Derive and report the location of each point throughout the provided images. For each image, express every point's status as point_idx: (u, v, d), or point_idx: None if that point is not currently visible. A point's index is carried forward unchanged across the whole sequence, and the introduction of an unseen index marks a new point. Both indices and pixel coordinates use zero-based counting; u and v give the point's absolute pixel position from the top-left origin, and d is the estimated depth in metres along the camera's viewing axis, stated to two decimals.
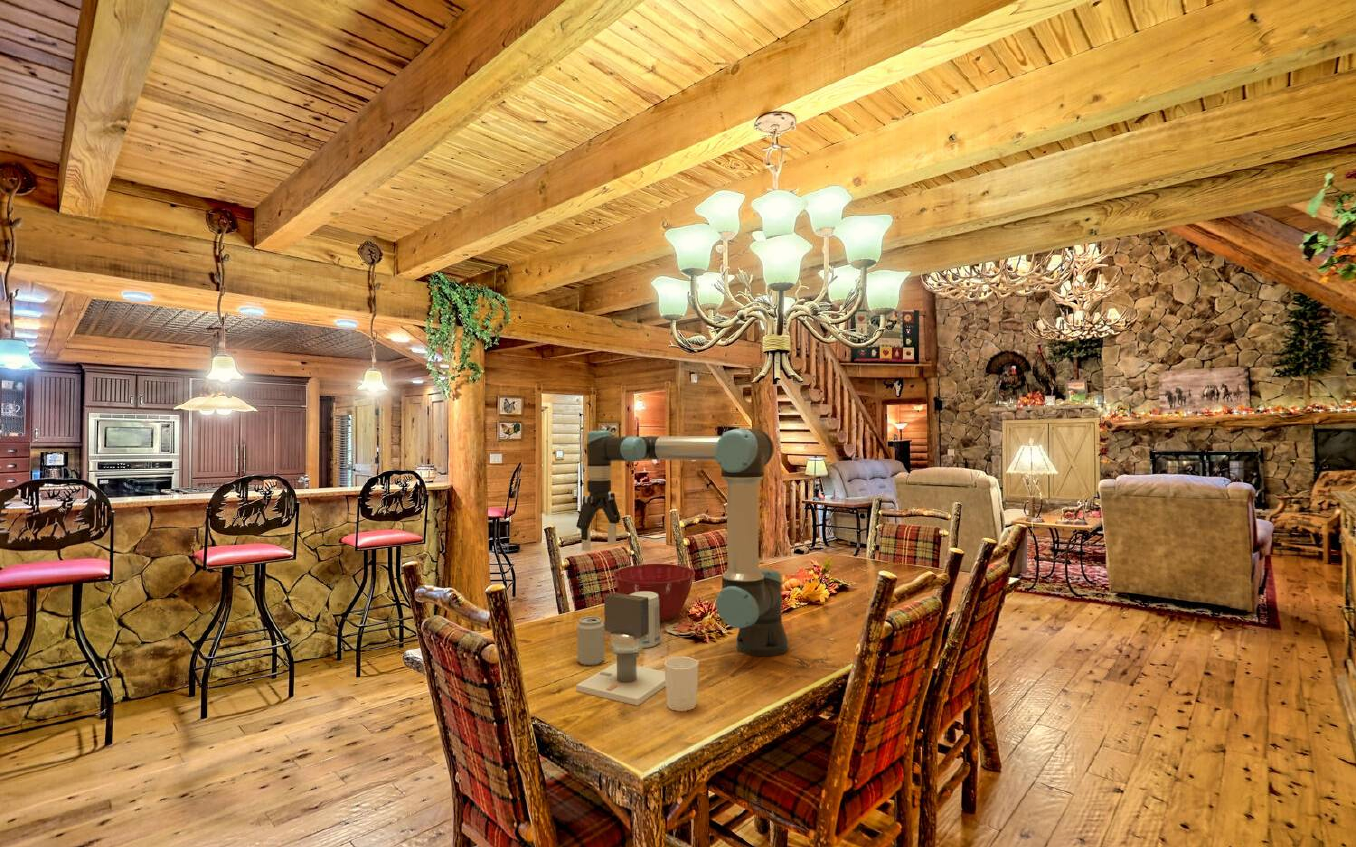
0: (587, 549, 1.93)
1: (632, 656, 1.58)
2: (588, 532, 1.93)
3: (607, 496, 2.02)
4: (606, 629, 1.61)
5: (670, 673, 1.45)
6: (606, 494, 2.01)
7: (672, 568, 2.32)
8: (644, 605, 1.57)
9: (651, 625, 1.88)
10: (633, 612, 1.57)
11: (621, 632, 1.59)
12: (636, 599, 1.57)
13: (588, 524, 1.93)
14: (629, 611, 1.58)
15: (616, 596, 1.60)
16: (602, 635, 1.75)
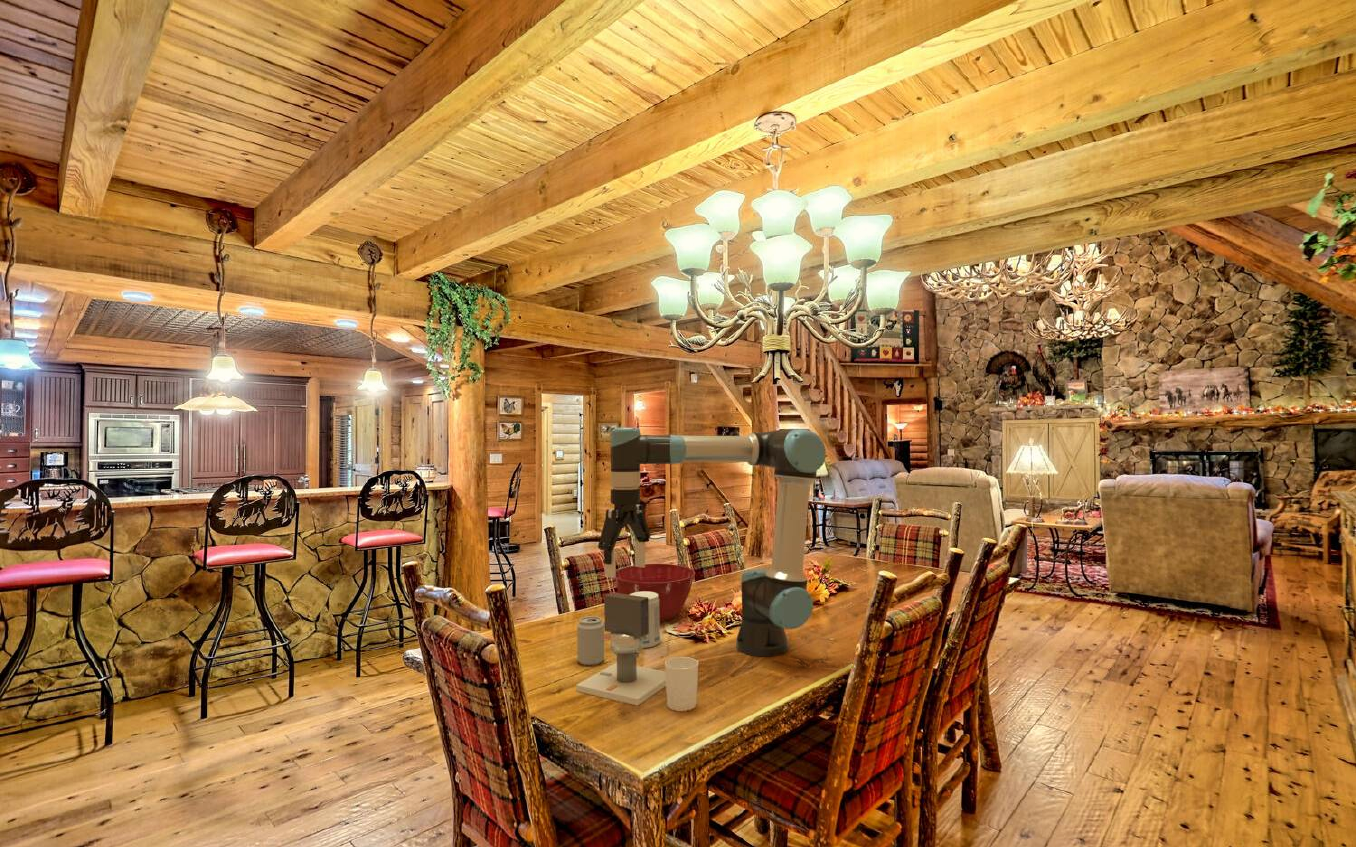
0: (611, 576, 1.54)
1: (632, 656, 1.58)
2: (613, 554, 1.54)
3: (635, 509, 1.63)
4: (606, 629, 1.61)
5: (670, 673, 1.45)
6: (634, 506, 1.62)
7: (672, 568, 2.32)
8: (644, 605, 1.57)
9: (651, 625, 1.88)
10: (633, 612, 1.57)
11: (621, 632, 1.59)
12: (636, 599, 1.57)
13: (613, 544, 1.54)
14: (629, 611, 1.58)
15: (616, 596, 1.60)
16: (602, 635, 1.75)
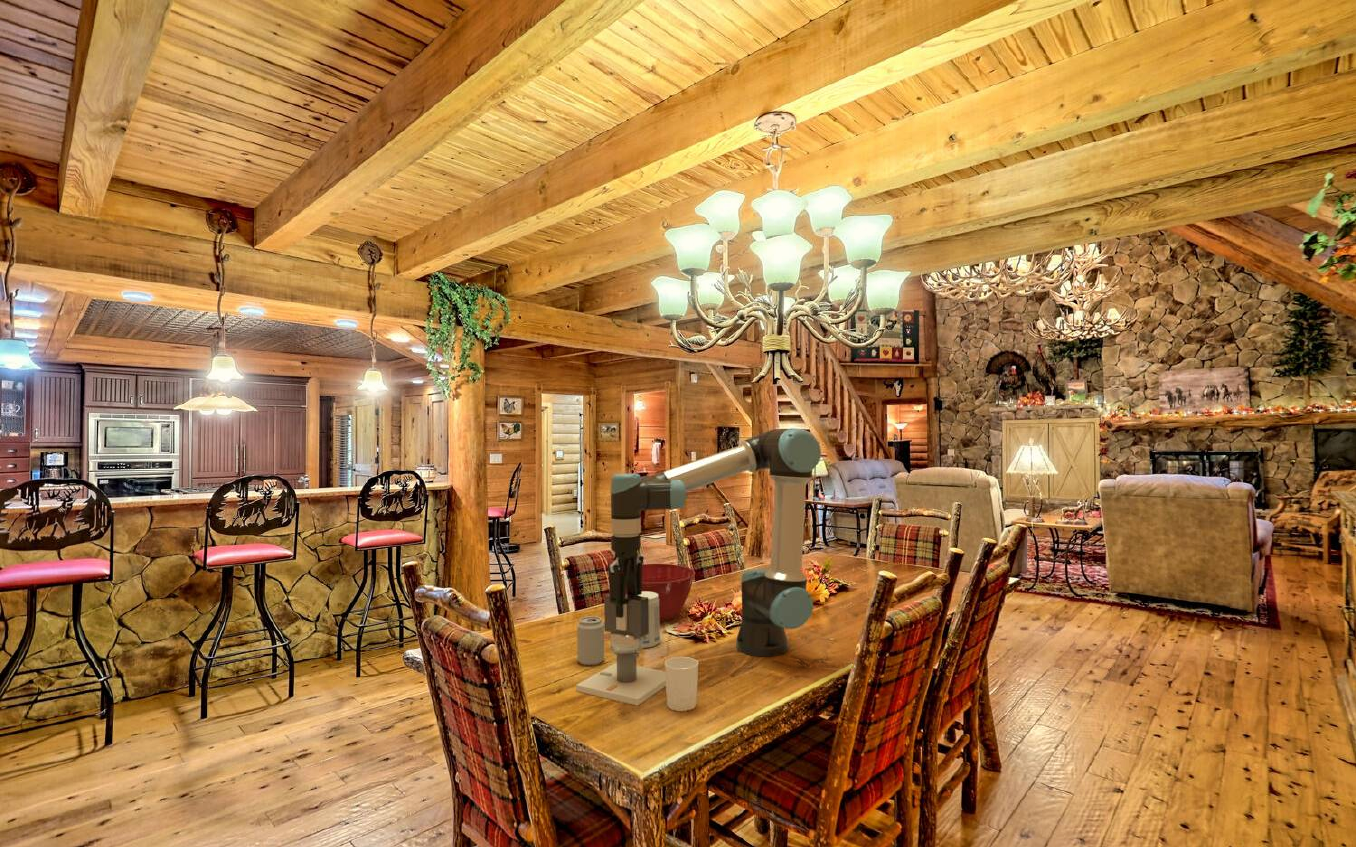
0: (623, 629, 1.57)
1: (632, 656, 1.58)
2: (624, 608, 1.57)
3: (636, 554, 1.62)
4: (606, 629, 1.61)
5: (670, 673, 1.45)
6: (635, 551, 1.62)
7: (672, 568, 2.32)
8: (644, 605, 1.57)
9: (651, 625, 1.88)
10: (633, 612, 1.57)
11: (621, 632, 1.59)
12: (636, 599, 1.57)
13: (623, 598, 1.57)
14: (629, 611, 1.58)
15: None
16: (602, 635, 1.75)
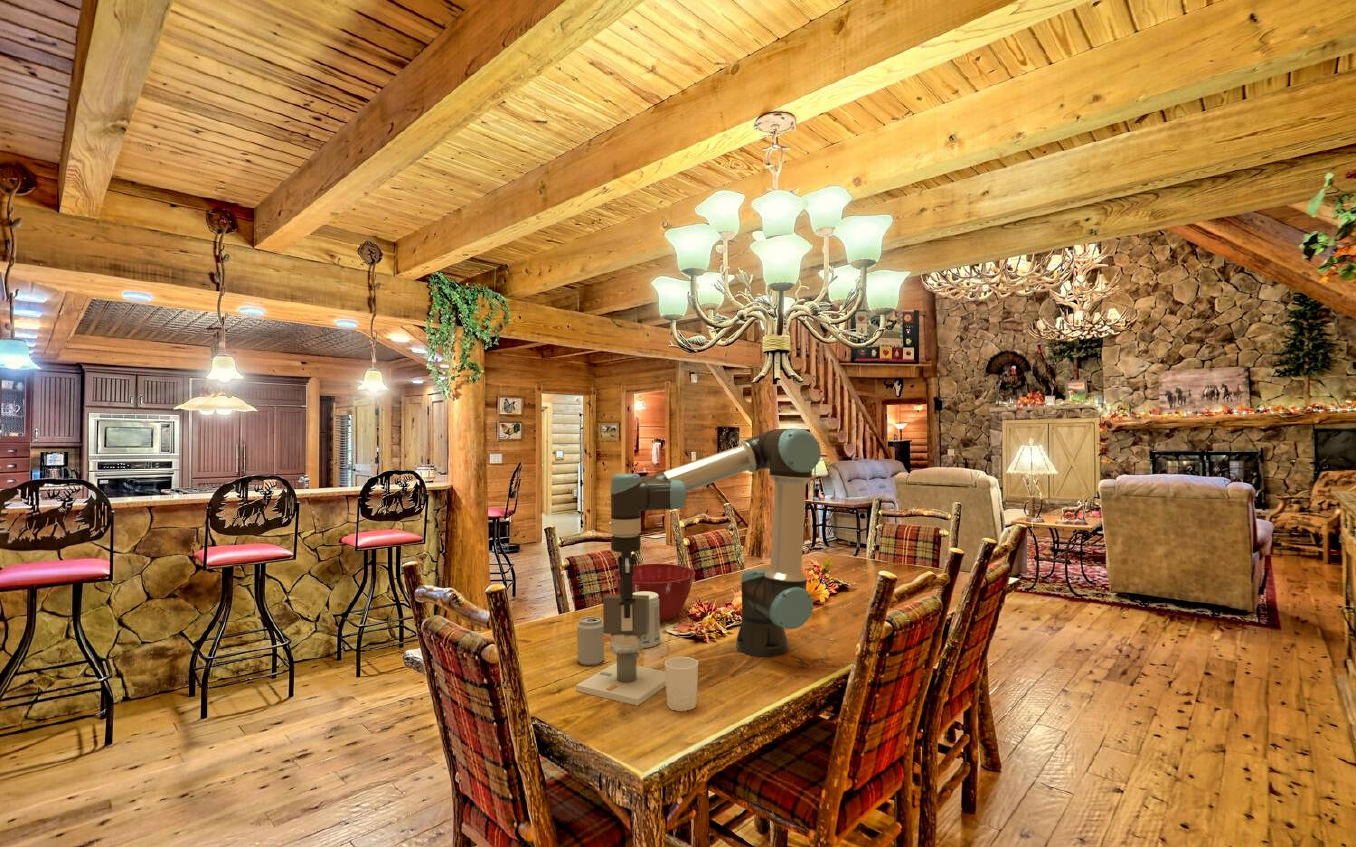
0: (629, 629, 1.57)
1: (632, 656, 1.58)
2: (631, 608, 1.57)
3: None
4: (605, 631, 1.59)
5: (670, 673, 1.45)
6: None
7: (672, 568, 2.32)
8: (647, 603, 1.59)
9: (651, 625, 1.88)
10: (637, 611, 1.58)
11: (623, 632, 1.58)
12: (639, 598, 1.58)
13: None
14: (632, 610, 1.58)
15: (616, 597, 1.59)
16: (602, 635, 1.75)
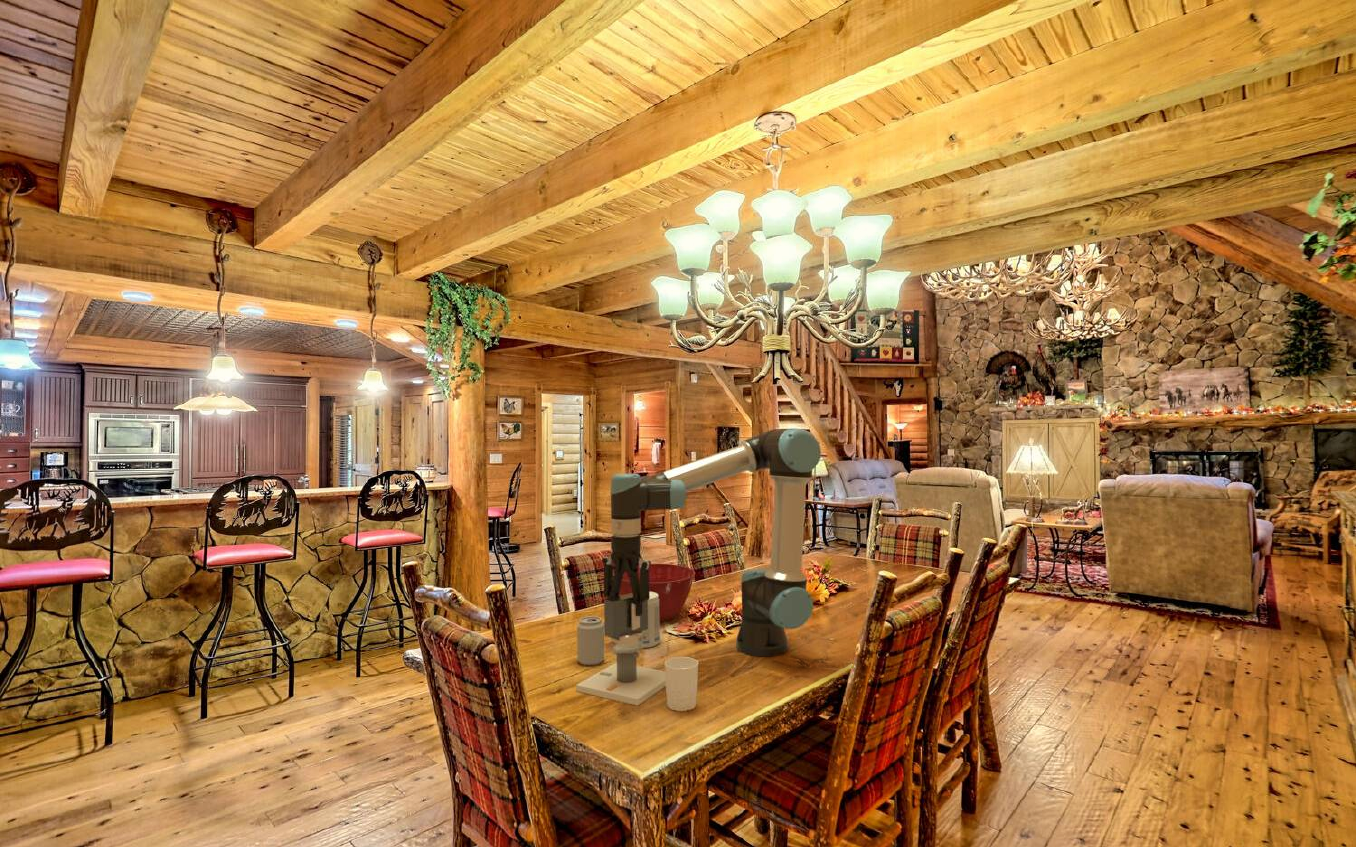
0: (638, 626, 1.59)
1: (632, 656, 1.58)
2: None
3: None
4: (614, 636, 1.55)
5: (670, 673, 1.45)
6: None
7: (672, 568, 2.32)
8: None
9: (651, 625, 1.88)
10: None
11: (629, 632, 1.58)
12: None
13: None
14: None
15: (621, 598, 1.58)
16: (602, 635, 1.75)
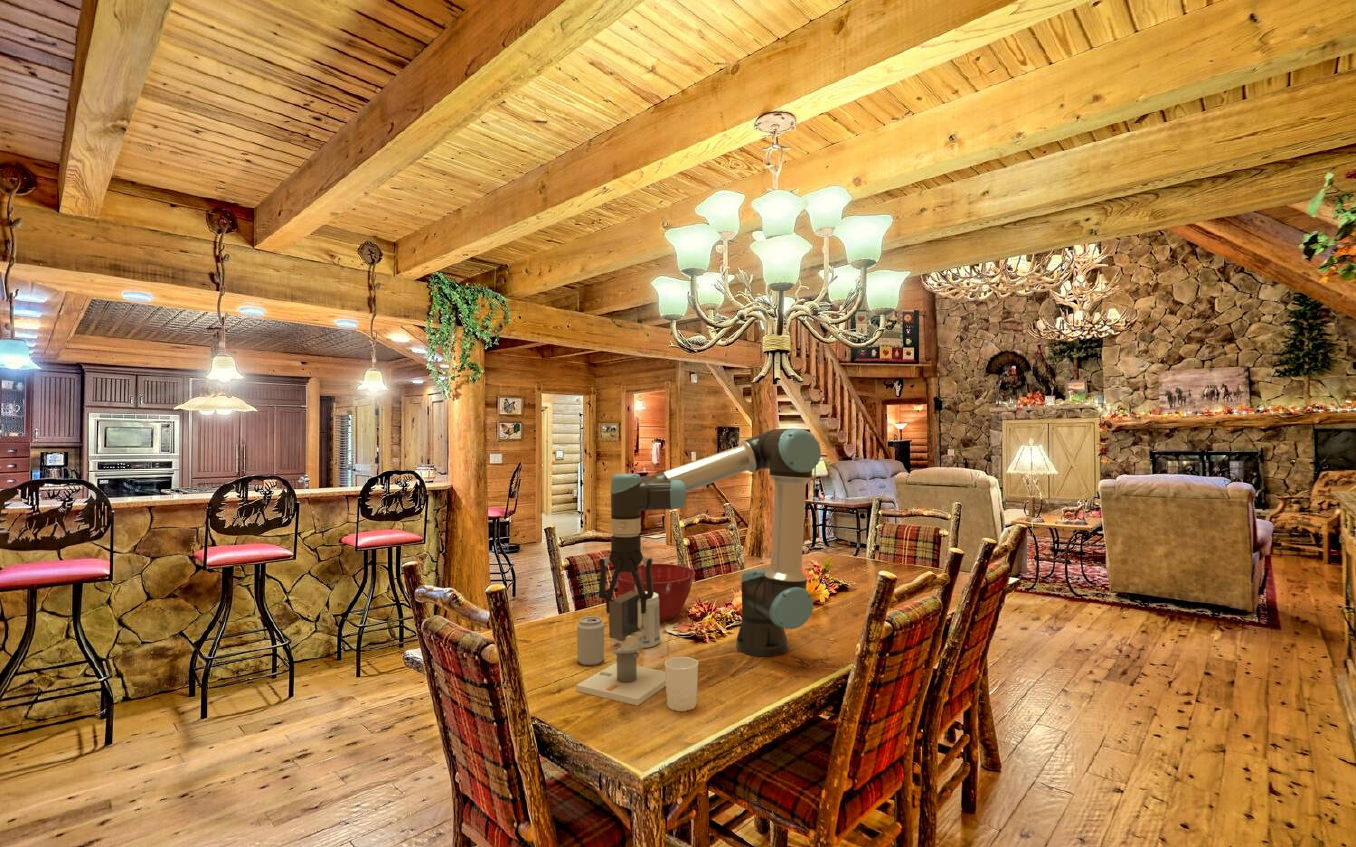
0: (641, 623, 1.61)
1: (632, 656, 1.58)
2: None
3: None
4: (623, 636, 1.55)
5: (670, 673, 1.45)
6: None
7: (672, 568, 2.32)
8: None
9: (651, 625, 1.88)
10: None
11: (632, 631, 1.59)
12: (637, 593, 1.63)
13: None
14: (636, 607, 1.61)
15: (625, 599, 1.58)
16: (602, 635, 1.75)
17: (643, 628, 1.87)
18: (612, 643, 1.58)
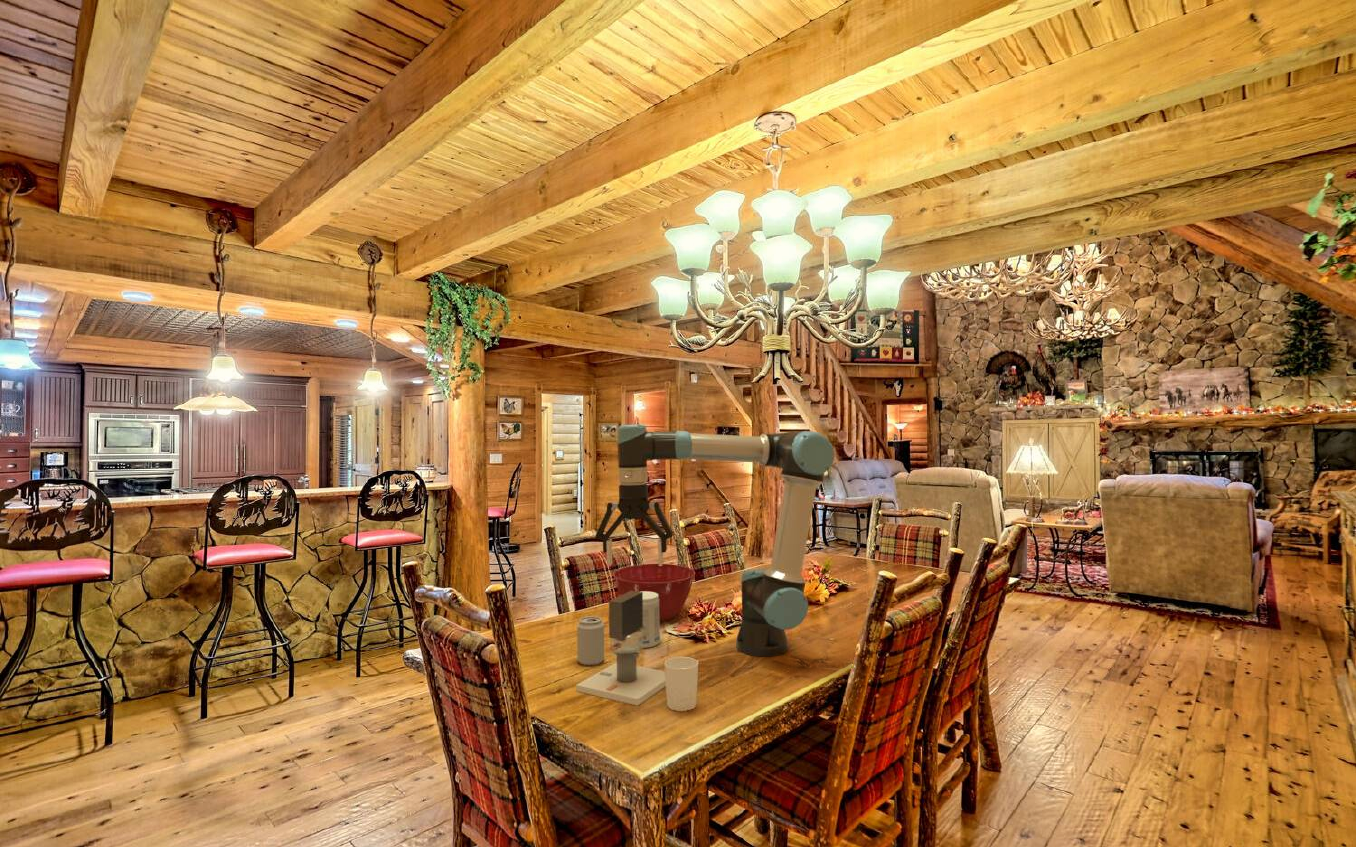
0: (662, 563, 1.65)
1: (632, 656, 1.58)
2: None
3: None
4: (623, 636, 1.55)
5: (670, 673, 1.45)
6: None
7: (672, 568, 2.32)
8: None
9: (651, 625, 1.88)
10: (638, 606, 1.62)
11: (632, 631, 1.59)
12: (637, 593, 1.63)
13: None
14: (636, 607, 1.61)
15: (625, 599, 1.58)
16: (602, 635, 1.75)
17: (643, 628, 1.87)
18: (612, 643, 1.58)
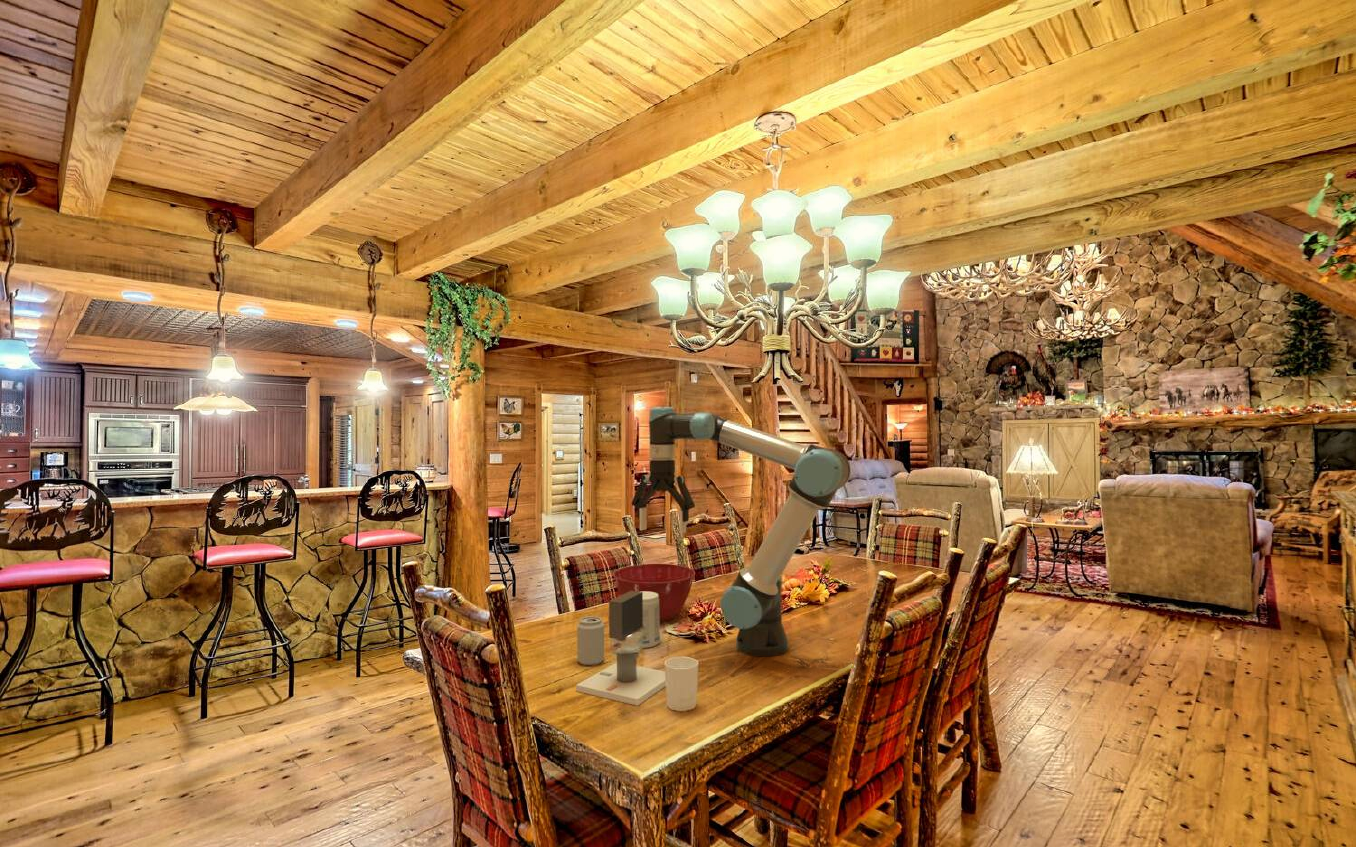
0: (685, 531, 1.84)
1: (632, 656, 1.58)
2: None
3: None
4: (623, 636, 1.55)
5: (670, 673, 1.45)
6: None
7: (672, 568, 2.32)
8: None
9: (651, 625, 1.88)
10: (638, 606, 1.62)
11: (632, 631, 1.59)
12: (637, 593, 1.63)
13: None
14: (636, 607, 1.61)
15: (625, 599, 1.58)
16: (602, 635, 1.75)
17: (643, 628, 1.87)
18: (612, 643, 1.58)
